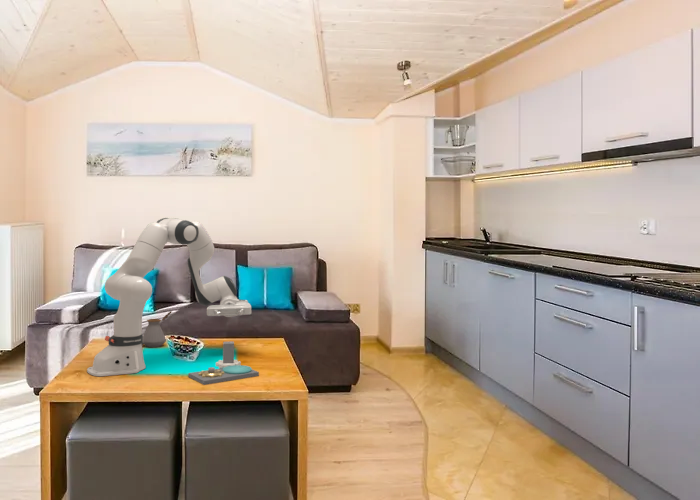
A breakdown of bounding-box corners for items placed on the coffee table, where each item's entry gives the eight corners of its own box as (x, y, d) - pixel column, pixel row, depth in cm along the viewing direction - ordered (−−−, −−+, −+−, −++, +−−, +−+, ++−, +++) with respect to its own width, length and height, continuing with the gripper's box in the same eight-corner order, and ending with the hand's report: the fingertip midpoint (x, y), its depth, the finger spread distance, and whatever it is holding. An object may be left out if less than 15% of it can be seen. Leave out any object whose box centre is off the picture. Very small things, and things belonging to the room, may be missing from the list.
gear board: (204, 384, 232) (204, 374, 232) (188, 376, 243) (188, 366, 242) (258, 375, 247) (258, 365, 247) (241, 368, 258) (241, 359, 258)
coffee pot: (157, 349, 291) (157, 318, 290) (136, 347, 294) (136, 316, 294) (181, 340, 312) (181, 311, 311) (161, 339, 315) (162, 310, 314)
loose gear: (216, 368, 257) (216, 345, 256) (215, 363, 267) (216, 340, 266) (241, 368, 259) (241, 344, 258) (239, 362, 269) (240, 339, 269)
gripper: (206, 301, 284) (205, 307, 271) (250, 300, 288) (251, 306, 274) (206, 314, 285) (205, 321, 271) (251, 313, 289) (251, 319, 275)
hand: (229, 313), depth 273 cm, fingers open, 8 cm apart
